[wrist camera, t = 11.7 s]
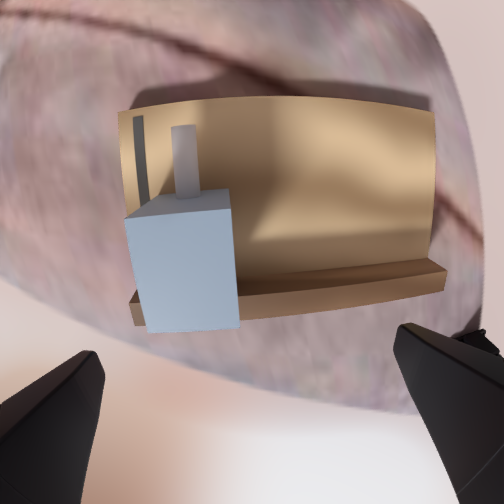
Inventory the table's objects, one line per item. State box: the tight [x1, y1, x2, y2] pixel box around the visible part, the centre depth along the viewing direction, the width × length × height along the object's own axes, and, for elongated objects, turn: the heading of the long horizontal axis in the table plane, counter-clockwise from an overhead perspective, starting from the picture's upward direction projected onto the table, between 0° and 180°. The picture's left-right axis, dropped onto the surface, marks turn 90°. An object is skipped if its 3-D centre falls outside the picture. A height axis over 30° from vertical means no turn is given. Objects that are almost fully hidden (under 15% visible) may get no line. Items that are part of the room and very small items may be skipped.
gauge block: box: [124, 124, 240, 333], centre depth 13 cm, size 8×4×6 cm, turn 3°
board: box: [118, 96, 448, 326], centre depth 16 cm, size 12×20×4 cm, turn 93°
